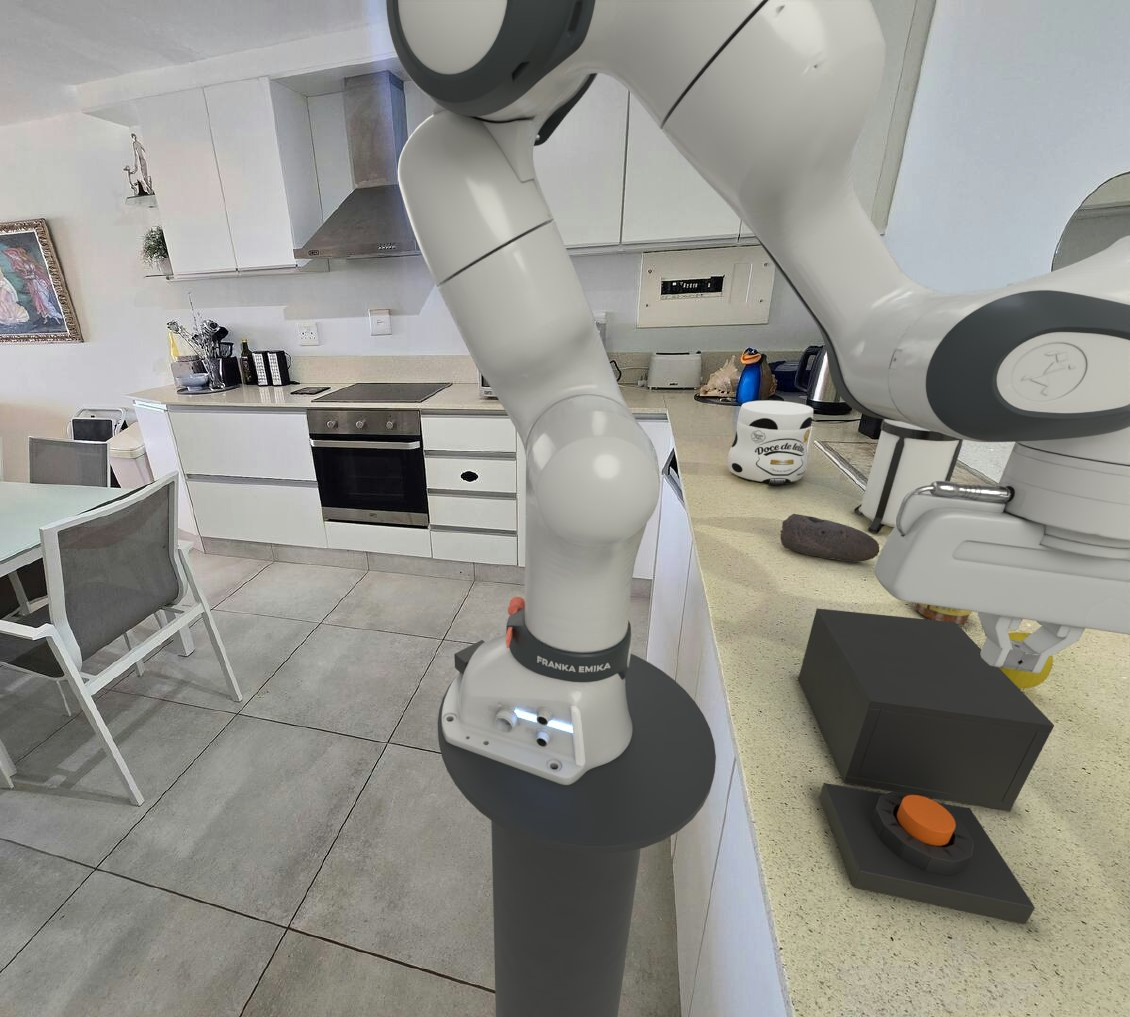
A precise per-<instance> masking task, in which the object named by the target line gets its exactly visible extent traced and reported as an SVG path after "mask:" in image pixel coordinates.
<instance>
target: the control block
mask: <svg viewBox="0 0 1130 1017" xmlns="http://www.w3.org/2000/svg"><path fill="white" fill-rule="evenodd" d="M908 795H915V794H910V793H904V792H898V791H889V792H888V793H886V792H880V791H874V790H868V789H863V788H862V789H861V788H856V787H851V786H845V785H839V784H833V783H828V782H823V785H822V787H821V790H820V794H819V797H818V799H819V802H820V804H821V807H822V809H823V813H824V815H825V818H826V820H827V823H828V825H829V828H830V830H831V833H832V835H833V838H834V841H835V843H836V846H837V849H838V851H839V854H840V857H841V859H842V862H843V865H844V867H845V870H846V872H847V874H848V877H849V880H850V882H851V885H852V887H853V888H855V889H860V890H863V891H867V892H873V893H876V894H877V893H878V894H883V895H887V896H891V897H895V898H896V897H897V898H901V899H904V900H905V899H906V900H911V901H914V902H919V903H924V904H929V905H933V906H938V907H942V908H947V909H952V910H956V911H961V912H966V913H970V914H976V915H980V916H985V917H990V918H993V919H999V920H1002V921H1007V922H1011V923H1018V924H1022V925H1026V924H1027V922H1028V921H1029V919H1030V917H1031V915H1032V914H1033V912H1034V911H1035V909H1036V906H1035V905H1034V904H1033V901H1032V900H1031V899H1030V897H1029V896H1028V894H1027V892H1026V891H1025V890H1024V888H1023V887H1022V885H1021V883H1020V882H1019V881H1018V879H1017V877H1016V876H1015V875H1014V873H1013V871H1012V869H1010V867H1009V865H1008V864H1007V862H1006V861H1005V859H1004V857H1003V856H1002V855H1001V853H1000V852H999V851H998V848H997V847H996V846H995V844H994V843H993V841H992V839H991V838H990V837H989V835H988V833H987V832H986V830H985V829H984V827H983V826H982V825H981V823H980V821H979V820H978V819H977V817H976V815H975V814H974V812H973V811H972V809H971V807H966V806H960V805H954V804H948V803H943V802H937V803H938V804H940V805H941V806H943V807H944V808H945V809H946V810H947V811H948V812H949V813H950V814H951V815H952V817H953V818H954V820H955V824H956V827H955V829H954V832H953V834H952V836H951V838H950V840H949V842H948V843H947V844H946V845H943V846H934V845H929V844H926V843H924V842H921V841H919V840H917V839H916V838H914V837H913V836H911V835H910V834H909V833H907V832H906V831H905V830H904V829H903V828H902V826H901V825H900V824H899V822H898V819H897V812H898V810H899V807H900V805H901V802H902V800H903V798H904V797H906V796H908Z"/></svg>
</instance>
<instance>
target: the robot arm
mask: <svg viewBox="0 0 1130 1017" xmlns="http://www.w3.org/2000/svg"><path fill="white" fill-rule="evenodd" d="M385 5H386V17H387V25H388V30H389V34H390V37H391V41H392V45H393V47H394V50H395V52H396V55H397V57H398V60H399V62H400V64H401V65H402V67H403V69H404V71H405V72H406V74H407V75H408V77H409V79H410V80H411V81H412V82H413V83H414V85H415V86H416V87H417V88H418V89H419V90H420V91H421V92H422V93H423V94H424V95H425V96H426V97H427V98H429V100H431V101H432V102H434V103H435V104H436V105H435V107H434V108H433V110H432V111H431V112H432V115H430V116H428V117H427V118H426V119H425V120H423V121H422V122H421V123H420V124H419V125H418V126H417V127H416V128H415V129H414V130H413V132H412V133H411V135H410V136H409V138H408V139H407V141H406V142H405V144H404V146H403V148H402V151H401V153H400V155H399V159H398V164H397V180H398V185H399V186H398V187H399V189H400V193H401V197H402V199H403V204H404V207H405V210H406V214H407V216H408V219H409V223H410V226H411V228H412V232H413V234H414V237H415V239H416V243H417V245H418V247H419V250H420V252H421V255H422V257H423V259H424V262H425V265H426V267H427V269H428V271H429V273H430V276H431V278H432V279H433V282H434V284H435V286H436V288H437V290H438V292H439V294H440V296H441V298H442V300H443V302H444V304H445V306H446V309H447V310H448V312H449V315H450V316H451V318H452V320H453V322H454V324H455V326H456V328H457V331H458V332H459V334H460V336H461V339H462V341H463V342H464V344H465V347H466V348H467V350H468V352H469V355H470V356H471V358H472V360H473V362H474V364H475V367H476V368H477V370H478V372H479V373H480V375H481V376H482V377H483V379H484V380H485V381H486V383H487V384H488V385H489V387H490V389H491V391H493V394H494V395H495V396H496V398H497V400H498V401H499V403H500V405H501V406H502V408H503V410H504V411H505V412H506V414H507V416H508V418H509V420H510V421H511V423H512V425H513V426H514V428H515V430H516V432H517V434H518V436H519V438H520V440H521V443H522V446H523V450H524V454H525V529H524V530H525V533H524V534H525V537H524V538H525V539H524V540H525V542H524V543H525V544H524V546H525V547H524V598H523V597H521V596H514V597H512V599H510V601H509V606H508V607H507V614H508V615H509V617H508V619H507V621H506V629H505V630H506V632H505V633H503V634H500V635H499V636H496V637H494V638H491V639H489V640H487V641H484V640H483V639H481V640H478V641H477V642H475V643H473V644H471V645H468V646H467V647H465V648H463V649H461V650H459V651H457V652H455V653H453V656H454V668H455V670H456V671H458V672H459V673H458V674H457V675H456V676H455V677H454V678H455V679H454V678H453V680H452V681H453V682H452V681H451V683H452V684H451V683H450V684H451V686H450V688H449V690H448V692H447V695H446V697H445V701H444V704H443V709H442V718H441V727H442V732H443V735H444V738H445V740H446V741H447V742H448V743H450V744H452V745H455V746H457V747H460V748H463V749H466V750H468V751H471V752H474V753H477V754H479V755H482V756H485V757H488V758H490V759H493V760H496V761H498V762H501V763H504V764H507V765H509V766H512V767H515V768H518V769H520V770H523V771H526V772H529V773H531V774H534V775H537V776H540V777H542V778H545V779H548V780H551V781H553V782H556V783H559V784H562V785H570V784H572V783H574V782H576V781H577V780H578V779H579V778H580V777H581V776H582V775H583V774H584V773H585V772H586V771H588V770H590V769H592V768H595V767H598V766H601V765H604V764H606V763H608V762H610V761H612V760H614V759H616V758H617V757H618V756H620V755H621V754H622V753H623V752H624V751H625V749H626V748H627V747H628V745H629V743H630V741H631V737H632V731H633V727H632V721H631V717H630V714H629V710H628V705H627V698H626V686H625V677H626V674H627V669H628V668H629V663H630V655H631V654H632V644H633V635H632V626H631V622H630V620H629V616H630V608H631V599H632V589H633V577H634V572H635V571H634V570H635V565H636V561H637V556H638V553H639V550H640V546H641V544H642V540H643V537H644V534H645V531H646V528H647V524H648V522H650V519H651V518H652V517H653V514H654V513H655V511H656V508H657V506H658V502H659V498H660V490H661V488H660V487H661V486H660V484H661V483H660V482H661V480H660V477H661V476H660V467H659V459H658V455H657V451H656V448H655V446H654V443H653V441H652V440H651V438H650V437H649V436H648V433H646V431H645V430H644V429H643V427H642V426H641V424H640V423H639V422H638V420H637V419H636V417H635V416H634V415H633V412H632V411H631V409H630V408H629V406H628V404H627V402H626V400H625V398H624V396H623V394H622V391H621V389H620V385H619V383H618V380H617V378H616V375H615V372H614V370H613V367H612V365H611V363H610V362H611V361H610V359H609V357H608V354H607V351H606V349H605V346H604V342H603V340H602V338H601V334H600V331H599V328H598V326H597V322H596V320H595V316H594V312H593V310H592V308H591V306H590V303H589V300H588V298H587V295H586V293H585V290H584V289H583V285H582V284H581V282H580V279H579V276H578V273H577V271H576V269H575V266H574V264H573V261H572V259H571V257H570V255H569V253H568V250H567V248H566V245H565V242H564V241H563V238H562V236H561V233H560V230H559V228H558V225H557V222H556V221H554V220H555V218H554V216H553V213H552V212H551V209H550V206H549V205H548V201H547V200H546V197H545V195H544V193H543V190H542V188H541V185H540V182H539V179H538V176H537V173H536V169H535V162H534V147H538V146H541V145H543V144H545V143H546V142H547V141H548V140H549V138H550V137H551V136H552V135H553V134H554V132H555V131H556V129H557V128H559V126H560V124H561V123H563V121H564V119H565V118H566V117H567V115H568V114H569V113H570V112H571V111H572V110H573V109H574V107H575V106H577V104H578V103H579V102H580V101H581V99H582V98H583V97H584V95H585V94H586V93H587V92H588V90H589V89H590V88H591V86H592V84H593V83H594V81H595V79H596V78H597V76H598V74H601V75H602V74H603V75H606V76H609V77H610V78H613V79H614V80H616V81H617V82H619V83H620V84H621V85H622V86H623V87H624V88H625V89H627V91H629V92H630V94H631V95H632V96H633V97H634V98H635V99H636V100H637V102H639V104H640V105H641V106H642V108H643V109H644V110H645V111H646V113H647V114H648V115H649V116H650V118H651V119H652V121H653V122H654V123H655V124H656V125H657V127H658V128H659V129H660V130H661V131H662V133H663V134H664V136H665V137H666V138H667V140H668V141H669V142H671V144H672V145H673V147H674V148H675V149H676V150H677V151H678V153H679V154H680V155H682V157H683V158H684V159H685V160H686V161H687V163H688V164H690V165H691V167H692V168H693V169H694V170H695V171H696V173H698V175H699V176H700V177H701V178H702V179H703V180H704V181H705V182H706V183H707V184H708V185H709V187H711V189H712V190H714V192H716V194H718V195H719V197H720V198H721V199H722V200H723V201H724V202H725V203H726V204H727V205H728V207H730V208H731V210H732V211H733V212H734V213H735V214H736V216H737V217H738V218H739V219H740V221H742V223H743V224H744V225H745V226H746V227H747V228H748V230H750V231H751V233H752V234H753V235H754V236H755V238H756V240H757V241H758V243H759V245H760V246H761V247H762V248H763V250H764V251H765V253H766V255H767V256H768V257H769V259H770V261H771V262H772V263H773V264H774V266H775V267H776V269H777V270H778V271H779V273H780V274H781V276H782V277H783V279H784V280H785V281H786V283H787V284H788V285H789V287H790V288H791V290H792V292H794V294H795V296H796V297H797V298H798V300H799V301H800V303H801V304H802V305H803V307H804V309H805V310H806V311H807V312H808V314H809V315H810V316H811V318H812V320H813V321H814V323H815V325H816V326H817V328H818V330H819V332H820V335H821V337H822V339H823V343H824V347H825V348H824V349H825V353H826V358H827V365H828V369H829V370H828V371H829V375H830V378H831V381H832V385H833V387H834V389H835V391H836V393H837V394H838V396H839V398H841V399H842V400H843V402H844V403H845V404H846V405H848V406H849V408H851V409H853V410H854V411H855V412H858V413H860V414H862V415H865V416H868V417H871V418H876V419H881V420H883V419H887V420H893V421H901V422H904V423H907V424H911V425H914V426H917V427H920V428H923V429H927V430H930V431H933V432H939V433H943V434H946V435H949V436H952V437H956V438H959V439H964V440H963V441H970V442H975V443H976V442H977V443H1014V444H1013V446H1012V449H1011V452H1010V454H1009V456H1008V459H1007V461H1006V463H1005V467H1004V469H1003V472H1002V474H1001V477H1000V478H999V481H998V484H997V485H987V484H964V483H958V482H955V481H951V480H950V481H935V482H932V483H931V485H928V486H922V487H919V488H917V489H915V490H913V491H912V492H910V493H908V494H907V495H906V496H905V497H904V498H903V500H902V503H901V505H900V508H899V511H898V514H897V517H896V525H895V527H892V528H893V529H892V530H891V531H890V534H889V536H888V537H887V539H886V541H885V542H884V545H883V547H882V549H881V550H880V552H879V554H878V558H877V559H876V562H875V564H874V569H873V573H874V576H875V578H876V580H877V581H878V583H879V584H880V585H881V586H882V588H883V589H884V590H886V592H887V593H889V594H890V595H891V596H892V597H893V598H894V599H895V600H898V601H901V602H907V603H914V604H917V603H919V604H926V605H932V606H939V607H946V608H952V609H959V610H966V611H972V613H977V616H978V619H979V622H980V624H981V627H982V631H983V633H984V636H985V637H986V638H985V640H984V642H983V644H982V646H981V648H980V649H981V653H980V655H981V658H982V659H983V660H984V661H986V662H987V663H988V664H989V665H990V666H994V667H1000V668H1007V669H1013V670H1019V671H1025V672H1031V673H1038V674H1039V673H1040V672H1041V671H1042V669H1043V667H1044V665H1045V663H1046V661H1047V659H1048V657H1049V656H1052V657H1053V656H1054V655H1056V654H1057V653H1059V652H1061V651H1063V650H1065V649H1067V648H1069V647H1070V646H1072V645H1073V644H1075V643H1077V642H1079V641H1080V639H1081V637H1082V635H1083V633H1084V631H1085V630H1086V629H1088V630H1092V631H1093V630H1095V631H1099V632H1100V631H1102V632H1107V633H1113V634H1121V635H1129V636H1130V234H1129V235H1126V236H1123V237H1121V238H1119V239H1117V240H1116V241H1115V242H1114V243H1112V244H1111V245H1110V246H1108V247H1107V248H1106V249H1103V250H1101V251H1099V252H1097V253H1095V254H1093V255H1090V256H1089V257H1086V258H1084V259H1082V260H1080V261H1077V262H1074V263H1072V264H1069V265H1067V266H1064V267H1061V268H1058V269H1056V270H1052V271H1049V272H1047V273H1044V274H1041V275H1038V276H1034V277H1030V278H1026V279H1023V280H1019V281H1016V282H1011V283H1007V285H1005V286H1000V287H994V288H984V289H976V290H969V291H968V290H967V291H954V292H948V291H942V290H938V289H934V288H931V287H928V286H926V285H924V284H922V283H920V282H917V281H915V280H914V279H912V278H911V277H910V276H909V275H908V274H907V273H906V272H905V271H904V269H903V268H902V267H901V265H900V263H899V262H898V261H897V259H896V257H895V255H894V254H893V253H892V251H891V250H890V248H889V247H888V245H887V243H886V242H885V241H884V238H883V237H882V235H881V234H880V233H879V231H878V229H877V228H876V226H875V224H874V223H873V221H872V220H871V218H870V216H869V215H868V213H867V212H866V210H865V209H864V207H863V205H862V204H861V202H860V200H859V197H858V195H857V192H856V189H855V188H856V187H855V184H854V162H855V158H856V153H857V149H858V145H859V142H860V138H861V137H862V133H863V131H864V130H865V127H866V125H867V123H868V121H869V119H870V117H871V114H872V113H873V110H874V108H875V105H876V102H877V99H878V97H879V93H880V89H881V87H882V84H883V80H884V73H885V69H886V60H887V43H886V40H885V36H884V33H883V31H882V26H881V24H880V21H879V18H878V16H877V13H876V11H875V8H874V6H873V3H872V1H871V0H385ZM926 491H930V493H931V494H925V493H922V492H926ZM1023 620H1026V621H1027V620H1028V621H1034V622H1036V623H1038V624H1039V625H1040V627H1039V628H1037V629H1036V630H1035V631H1033V632H1031V635H1029V636H1028V637H1027V638H1025V639H1024V640H1023V641H1014V640H1010V637H1009V634H1008V633H1009V631H1008V630H1011V631H1018V630H1019V628H1020V626H1021V624H1022V622H1023ZM449 721H451V722H449ZM551 768H556V770H553V769H551Z"/></svg>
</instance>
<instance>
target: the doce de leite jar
mask: <svg viewBox="0 0 1130 1017" xmlns="http://www.w3.org/2000/svg"><path fill="white" fill-rule="evenodd" d="M813 419H814V408H813V407H811V406H810V405H807V404H804V403H800V402H799V403H798V402H792V401H784V400H753V401H747V402H744V403H742V404H741V406H740V409H739V412H738V417H737V422H736V430H735V435H734V436H735V437H734V439H733V442H732V445H731V447H730V448H729V451H728V454H727V469H728V471H729V473H730V474H731V475H732V476H734V477H736V478H738V479H740V480H743V481H746V482H749V483H754V484H759V485H770V486H777V485H779V486H783V485H789V484H793V483H795V482H798V481H800V480H801V479H802V478H803V476H804V475H805V473H806V472H807V471H806V470H807V468H808V466H809V453H808V445H809V444H808V442H809V438H810V434H811V432H812V423H813Z"/></svg>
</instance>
